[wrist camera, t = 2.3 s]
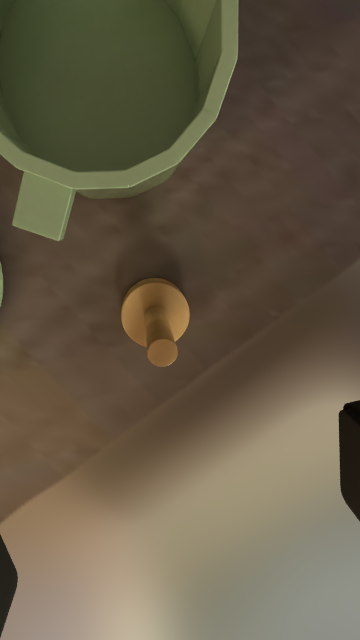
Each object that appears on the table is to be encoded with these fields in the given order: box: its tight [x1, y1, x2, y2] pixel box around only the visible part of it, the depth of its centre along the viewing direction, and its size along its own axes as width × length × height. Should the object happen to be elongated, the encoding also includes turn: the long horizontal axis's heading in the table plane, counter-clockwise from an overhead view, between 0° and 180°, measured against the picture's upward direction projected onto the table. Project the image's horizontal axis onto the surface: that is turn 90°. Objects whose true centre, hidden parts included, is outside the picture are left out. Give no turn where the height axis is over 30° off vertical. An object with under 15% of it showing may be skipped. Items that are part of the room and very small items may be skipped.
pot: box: [0, 0, 238, 241], centre depth 17 cm, size 14×19×8 cm
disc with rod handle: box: [121, 278, 189, 367], centre depth 21 cm, size 5×5×9 cm
